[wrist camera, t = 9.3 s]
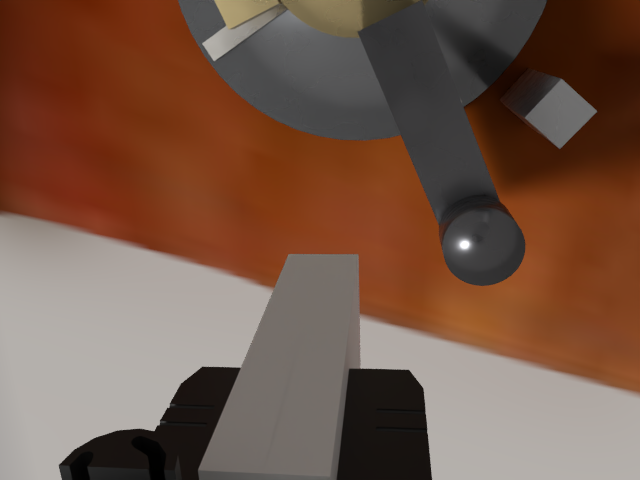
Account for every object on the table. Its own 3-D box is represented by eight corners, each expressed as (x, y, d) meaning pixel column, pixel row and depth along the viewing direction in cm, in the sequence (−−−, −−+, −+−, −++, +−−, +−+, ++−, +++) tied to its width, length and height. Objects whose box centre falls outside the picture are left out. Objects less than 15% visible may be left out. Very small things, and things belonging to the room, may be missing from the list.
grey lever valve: (180, -83, 26) (95, -126, 18) (470, -252, 23) (511, -388, 15) (347, 264, 30) (334, 344, 23) (605, 163, 27) (688, 217, 20)
